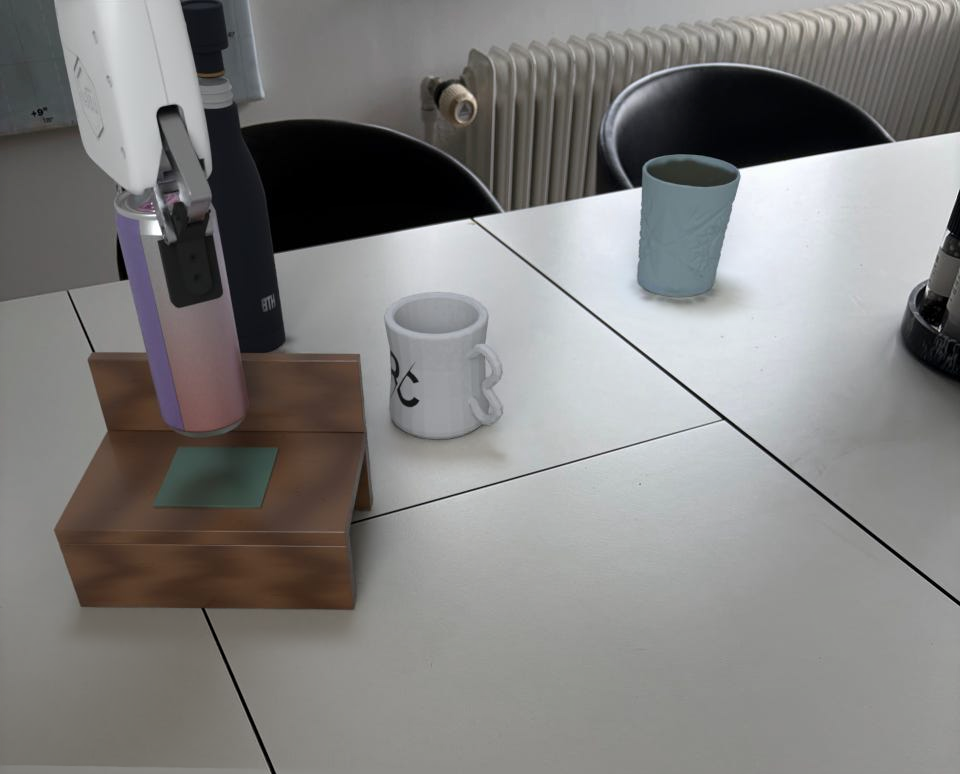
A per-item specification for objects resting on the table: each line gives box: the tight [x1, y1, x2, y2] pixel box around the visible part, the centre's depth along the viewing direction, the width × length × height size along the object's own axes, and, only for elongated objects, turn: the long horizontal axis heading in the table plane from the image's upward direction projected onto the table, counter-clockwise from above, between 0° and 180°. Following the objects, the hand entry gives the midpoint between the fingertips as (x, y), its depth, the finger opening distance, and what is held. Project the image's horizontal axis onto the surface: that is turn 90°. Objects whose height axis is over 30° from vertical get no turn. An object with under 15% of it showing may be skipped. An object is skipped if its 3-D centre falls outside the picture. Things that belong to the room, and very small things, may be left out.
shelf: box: [53, 351, 374, 611], centre depth 76 cm, size 20×14×13 cm
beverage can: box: [113, 180, 249, 437], centre depth 67 cm, size 6×6×15 cm
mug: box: [383, 291, 504, 440], centre depth 91 cm, size 12×9×10 cm
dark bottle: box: [180, 0, 286, 353], centre depth 96 cm, size 6×6×30 cm
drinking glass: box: [636, 153, 742, 298], centre depth 113 cm, size 10×10×12 cm
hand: (177, 279), depth 66 cm, fingers closed on beverage can, 6 cm apart
